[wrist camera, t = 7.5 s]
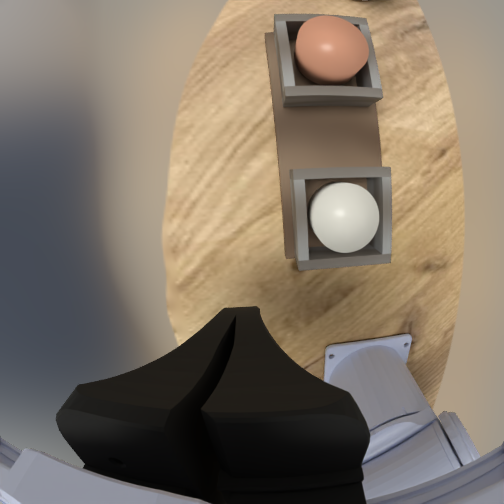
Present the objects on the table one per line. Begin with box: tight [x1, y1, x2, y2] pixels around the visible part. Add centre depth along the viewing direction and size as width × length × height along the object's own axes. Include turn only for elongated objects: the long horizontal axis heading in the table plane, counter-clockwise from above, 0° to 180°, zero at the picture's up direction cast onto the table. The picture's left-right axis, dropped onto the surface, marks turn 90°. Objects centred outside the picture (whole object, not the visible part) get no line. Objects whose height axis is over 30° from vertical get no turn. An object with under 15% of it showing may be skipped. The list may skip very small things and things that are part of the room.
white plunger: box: [307, 182, 379, 253], centre depth 17 cm, size 4×4×2 cm
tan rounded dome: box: [294, 16, 369, 86], centre depth 13 cm, size 4×4×2 cm
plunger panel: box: [265, 14, 392, 271], centre depth 16 cm, size 16×7×4 cm, turn 5°
